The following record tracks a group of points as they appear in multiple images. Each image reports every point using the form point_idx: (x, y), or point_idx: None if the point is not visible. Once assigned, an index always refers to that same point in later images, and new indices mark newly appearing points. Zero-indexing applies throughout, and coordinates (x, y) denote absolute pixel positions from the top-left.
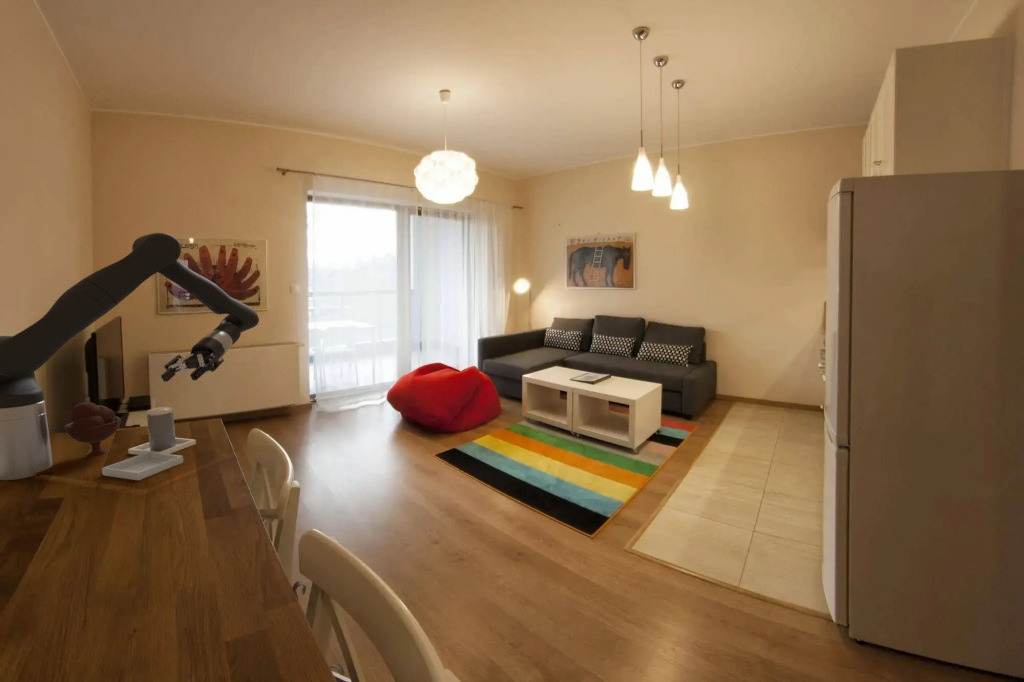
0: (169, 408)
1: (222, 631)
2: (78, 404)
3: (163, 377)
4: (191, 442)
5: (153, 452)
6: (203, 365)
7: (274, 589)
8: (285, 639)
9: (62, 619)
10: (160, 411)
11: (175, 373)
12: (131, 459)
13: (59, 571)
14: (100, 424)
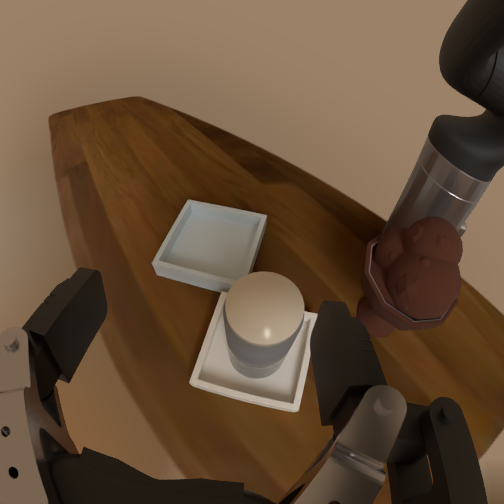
0: (237, 321)
1: (72, 115)
2: (447, 221)
3: (323, 307)
4: (193, 371)
5: (228, 281)
6: (4, 333)
7: (53, 129)
8: (54, 118)
9: (134, 106)
10: (242, 281)
11: (332, 435)
12: (250, 252)
13: (160, 118)
14: (376, 252)
